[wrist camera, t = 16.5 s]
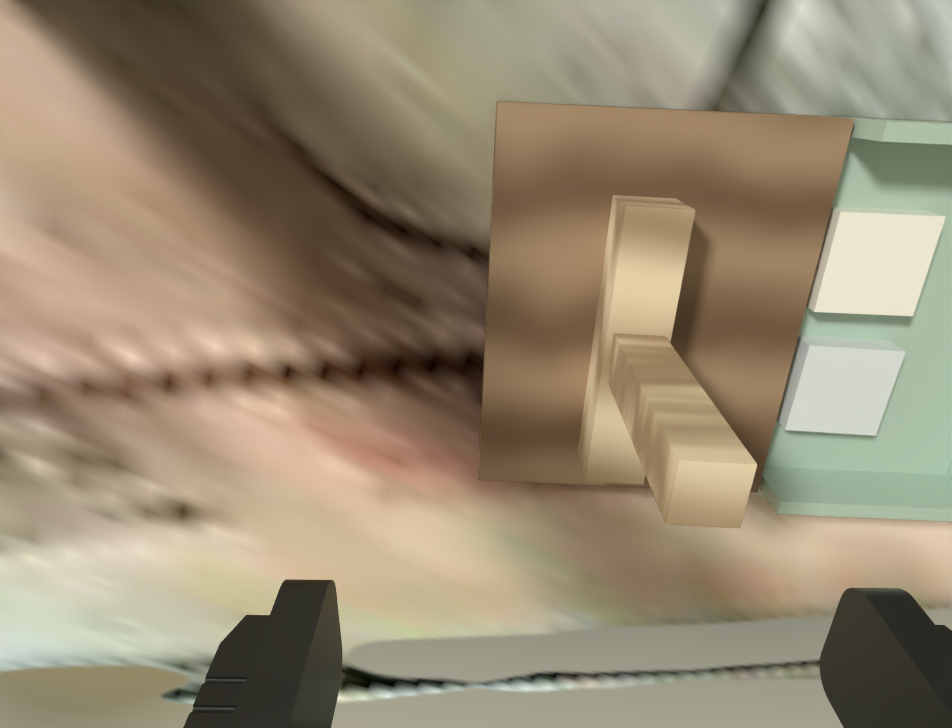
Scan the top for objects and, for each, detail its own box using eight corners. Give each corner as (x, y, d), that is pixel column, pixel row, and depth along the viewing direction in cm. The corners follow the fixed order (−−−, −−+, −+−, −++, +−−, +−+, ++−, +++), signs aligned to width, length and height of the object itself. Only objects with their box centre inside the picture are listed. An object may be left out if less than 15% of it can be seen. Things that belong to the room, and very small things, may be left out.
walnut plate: (496, 101, 32) (497, 102, 29) (817, 115, 32) (854, 118, 29) (479, 448, 40) (478, 480, 37) (735, 459, 40) (757, 492, 37)
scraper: (613, 195, 30) (707, 275, 17) (676, 198, 30) (817, 282, 17) (577, 451, 36) (629, 656, 23) (631, 454, 36) (712, 660, 23)
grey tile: (796, 334, 34) (809, 345, 33) (889, 340, 34) (905, 351, 33) (773, 416, 36) (785, 430, 35) (860, 422, 36) (875, 435, 35)
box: (823, 115, 32) (887, 121, 27) (1063, 126, 32) (1172, 134, 27) (740, 459, 40) (777, 513, 35) (932, 468, 40) (997, 523, 35)
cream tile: (825, 206, 32) (840, 211, 30) (926, 210, 32) (945, 216, 30) (800, 302, 34) (814, 311, 32) (895, 306, 34) (912, 316, 32)
